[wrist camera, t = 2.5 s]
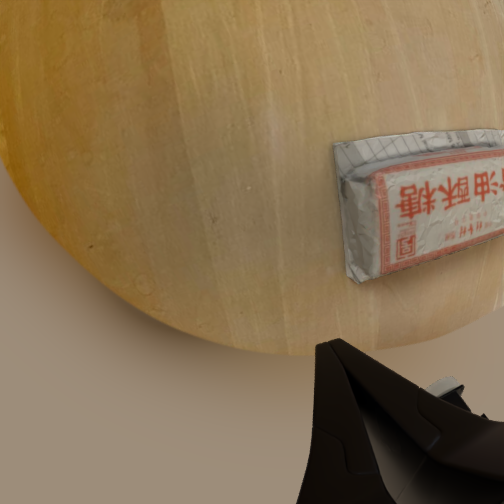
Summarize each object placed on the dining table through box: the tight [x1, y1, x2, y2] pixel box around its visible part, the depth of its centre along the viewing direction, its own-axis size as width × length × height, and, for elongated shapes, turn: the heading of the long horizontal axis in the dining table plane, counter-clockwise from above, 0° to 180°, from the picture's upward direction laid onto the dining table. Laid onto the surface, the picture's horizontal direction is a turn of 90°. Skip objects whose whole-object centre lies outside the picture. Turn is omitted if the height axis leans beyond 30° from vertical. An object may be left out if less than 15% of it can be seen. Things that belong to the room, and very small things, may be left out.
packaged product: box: [333, 129, 504, 284], centre depth 19 cm, size 18×5×10 cm
